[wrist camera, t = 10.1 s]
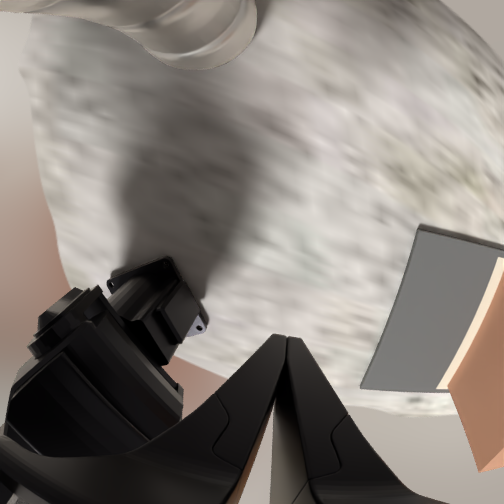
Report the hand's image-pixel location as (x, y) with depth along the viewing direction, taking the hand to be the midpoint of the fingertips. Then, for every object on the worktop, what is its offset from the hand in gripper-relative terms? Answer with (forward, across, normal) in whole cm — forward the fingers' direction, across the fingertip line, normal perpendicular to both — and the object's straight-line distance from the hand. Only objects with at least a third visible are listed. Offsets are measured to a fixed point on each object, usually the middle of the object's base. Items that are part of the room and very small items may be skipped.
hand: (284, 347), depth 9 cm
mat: (+12, -20, +6) cm, 24 cm away
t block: (+12, -24, +6) cm, 27 cm away
